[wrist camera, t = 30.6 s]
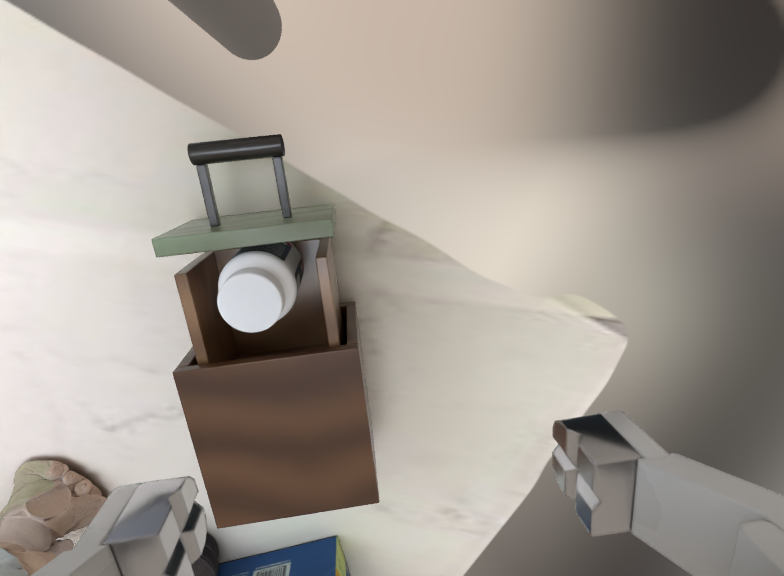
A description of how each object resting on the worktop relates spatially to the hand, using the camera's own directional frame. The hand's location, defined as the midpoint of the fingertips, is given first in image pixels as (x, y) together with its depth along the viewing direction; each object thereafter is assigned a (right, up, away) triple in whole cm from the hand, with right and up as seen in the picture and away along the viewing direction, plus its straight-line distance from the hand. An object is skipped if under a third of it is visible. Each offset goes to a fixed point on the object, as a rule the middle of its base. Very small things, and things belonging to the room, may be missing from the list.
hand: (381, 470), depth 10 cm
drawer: (-10, +7, +26) cm, 29 cm away
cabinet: (-9, -4, +31) cm, 33 cm away
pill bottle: (-10, +6, +26) cm, 28 cm away
